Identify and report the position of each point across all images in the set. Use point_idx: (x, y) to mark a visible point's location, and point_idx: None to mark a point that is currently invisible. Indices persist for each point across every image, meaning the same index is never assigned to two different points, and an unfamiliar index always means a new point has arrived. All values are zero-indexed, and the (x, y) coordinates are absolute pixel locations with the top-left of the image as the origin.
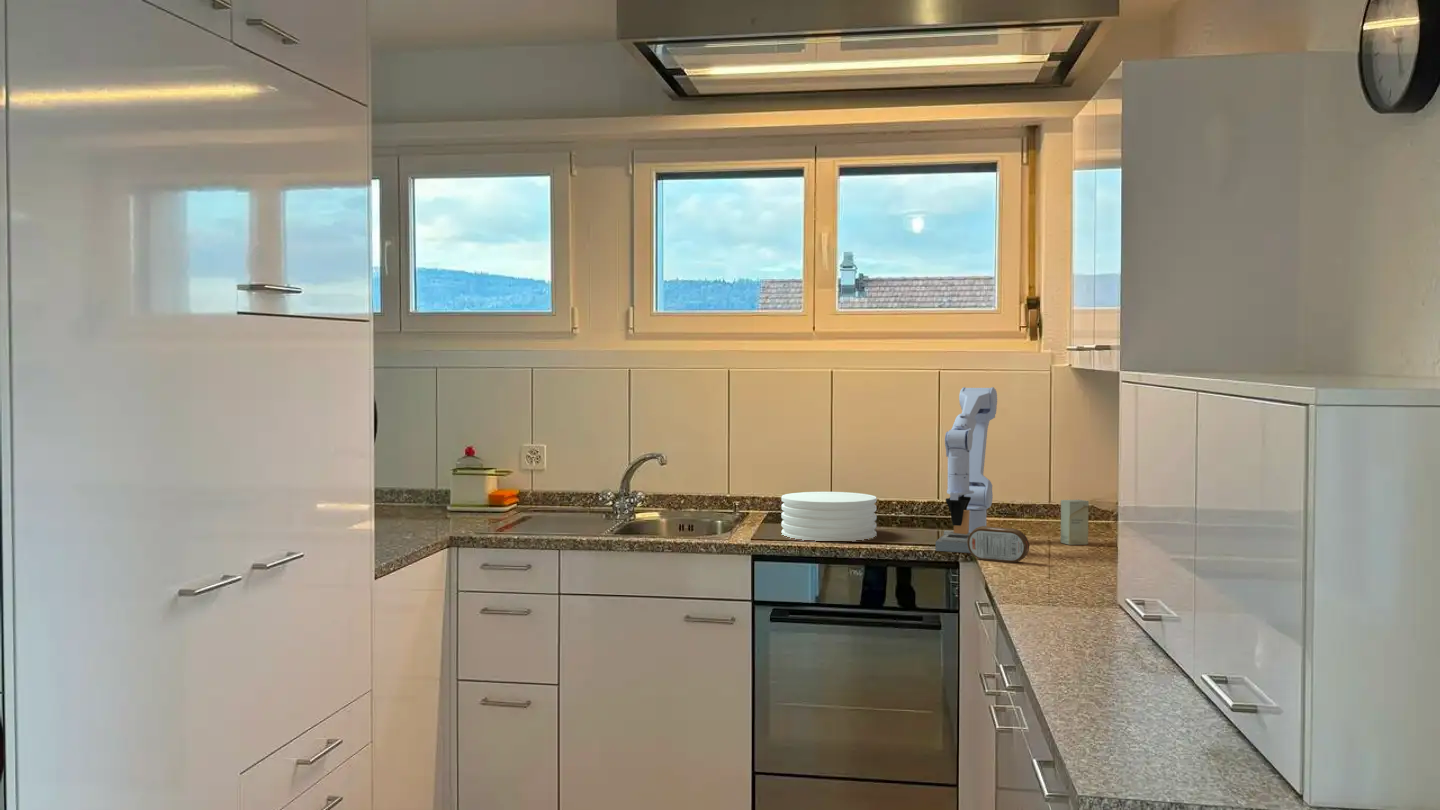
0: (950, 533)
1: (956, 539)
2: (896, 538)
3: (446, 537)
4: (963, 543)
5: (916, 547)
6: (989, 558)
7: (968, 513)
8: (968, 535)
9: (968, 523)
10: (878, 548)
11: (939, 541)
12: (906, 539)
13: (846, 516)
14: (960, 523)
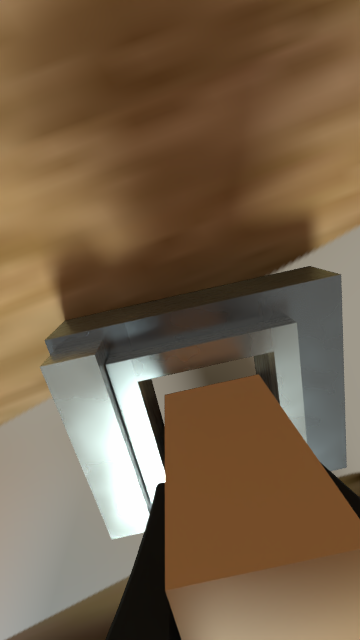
0: (145, 491)
1: (301, 397)
2: (105, 634)
3: None
4: (341, 334)
5: None
6: None
7: (273, 527)
8: (139, 391)
9: (208, 434)
10: None
11: (341, 452)
12: (103, 607)
13: None
14: (322, 465)
